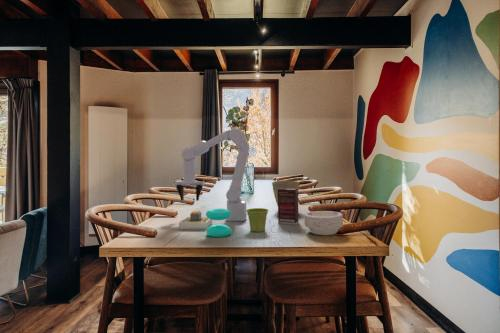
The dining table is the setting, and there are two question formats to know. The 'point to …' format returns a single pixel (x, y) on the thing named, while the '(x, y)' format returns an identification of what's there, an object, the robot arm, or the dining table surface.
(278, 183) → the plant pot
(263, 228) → the plant pot
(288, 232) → the dining table surface
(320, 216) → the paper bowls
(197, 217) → the connector
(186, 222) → the walled box
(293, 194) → the supplement box
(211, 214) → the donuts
